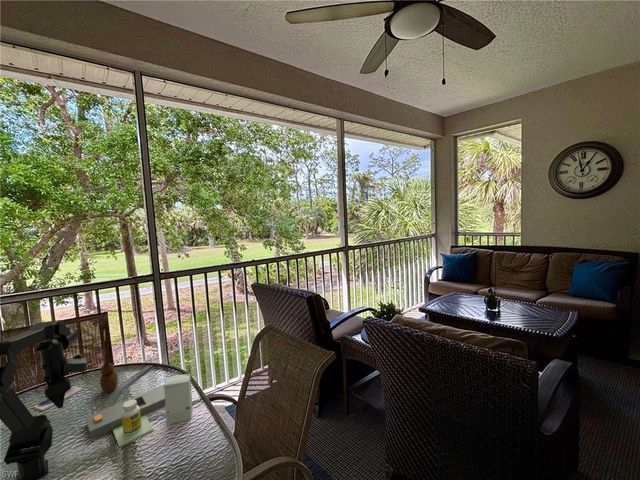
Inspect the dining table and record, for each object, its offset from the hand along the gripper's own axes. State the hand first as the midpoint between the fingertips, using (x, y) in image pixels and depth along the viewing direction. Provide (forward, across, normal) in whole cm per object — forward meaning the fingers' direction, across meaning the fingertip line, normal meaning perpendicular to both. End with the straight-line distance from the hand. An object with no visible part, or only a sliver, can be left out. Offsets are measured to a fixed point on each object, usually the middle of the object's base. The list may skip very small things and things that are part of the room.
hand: (59, 401), depth 102 cm
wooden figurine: (+12, +19, -16) cm, 28 cm away
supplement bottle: (+12, -16, -17) cm, 26 cm away
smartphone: (+13, +28, 0) cm, 31 cm away
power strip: (+12, -5, -20) cm, 24 cm away
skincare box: (+12, -21, -31) cm, 39 cm away
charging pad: (+12, -16, -17) cm, 26 cm away
